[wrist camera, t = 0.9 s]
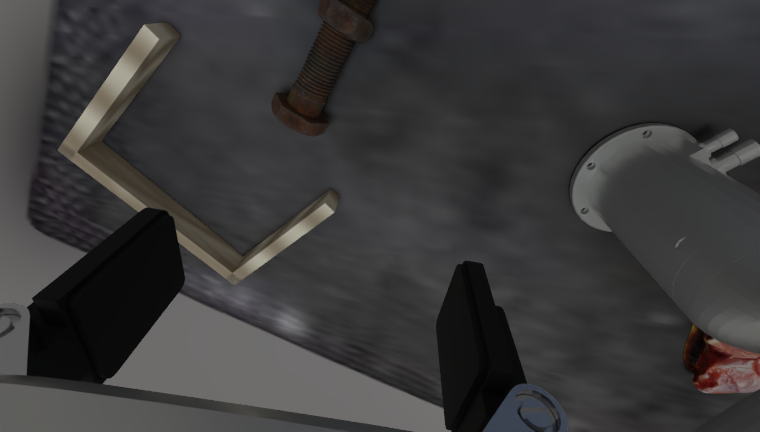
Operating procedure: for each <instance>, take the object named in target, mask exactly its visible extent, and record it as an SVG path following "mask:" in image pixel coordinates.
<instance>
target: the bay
mask: <svg viewBox="0 0 760 432" xmlns="http://www.w3.org/2000/svg"><path fill="white" fill-rule="evenodd" d="M180 37H181V35H180V34H179V33H178V32H177V31H176V30H175V29H174V28H173V27H172V26H171V25H170V24H169V23H168V22H166V23H155V24H144V26H143V27H142V28H141V30H140V31H139V33H138V34H137V36H136V37H135V39H134V40H133V41H132V43H131V44H130V46H129V47H128V49H127V50H126V52H125V53H124V54H123V56H122V57H121V59H120V60H119V62H118V63H117V65H116V66H115V68H114V69H113V70H112V72H111V73H110V75H109V76H108V78H107V79H106V81H105V82H104V83H103V85H102V86H101V88H100V89H99V91H98V92H97V94H96V95H95V96H94V98H93V99H92V101H91V102H90V104H89V105H88V107H87V108H86V109H85V111H84V112H83V114H82V115H81V117H80V118H79V120H78V121H77V123H76V124H75V125H74V127H73V128H72V130H71V131H70V133H69V134H68V136H67V137H66V138H65V140H64V141H63V143H62V144H61V146H60V147H59V149H58V151H59V152H60V153H62V154H63V155H64V156H66V157H67V158H68V159H70V160H71V161H72V162H74V163H75V164H76V165H77V166H79V167H80V168H81V169H83V170H84V171H85V172H87V173H88V174H89V175H91V176H92V177H93V178H95V179H96V180H97V181H98V182H100V183H101V184H102V185H104V186H105V187H106V188H108V189H109V190H110V191H112V192H113V193H114V194H116V195H117V196H118V197H120V198H121V199H122V200H123V201H125V202H126V203H127V204H129V205H130V206H131V207H133V208H134V209H135V210H137V211H138V212H140V211H141V210H143V209H144V208H147V207H149V208H155V209H161V210H166V211H168V213H169V215H170V216H172V217H173V218H174V222H175V227H176V232H177V238H178V242H179V243H180V244H181V245H183V246H184V247H185V248H186V249H188V250H189V251H190V252H192V253H193V254H194V255H196V256H197V257H198V258H200V259H201V260H202V261H204V262H205V263H206V264H207V265H209V266H210V267H211V268H213V269H214V270H215V271H217V272H218V273H219V274H221V275H222V276H223V277H225V278H226V279H227V280H228V281H230V282H231V283H232V284H234V285H236V284H237V283H238V282H240V281H241V280H243V279H244V278H245V277H247V276H248V275H249V274H251V273H252V272H253V271H255V270H256V269H258V268H259V267H260V266H262V265H263V264H264V263H266V262H267V261H269V260H270V259H271V258H273V257H274V256H275V255H277V254H278V253H280V252H281V251H282V250H284V249H285V248H286V247H288V246H289V245H290V244H292V243H293V242H295V241H296V240H297V239H299V238H300V237H301V236H303V235H304V234H306V233H307V232H308V231H310V230H311V229H312V228H314V227H315V226H317V225H318V224H319V223H321V222H322V221H323V220H325V219H326V218H327V217H329V216H330V215H332V214H333V213H334V212H335V209H336V207H337V204H338V201H339V198H340V197H339V196H338V195H337V194H336V193H335V192H334V191H333V190H332V189H330V190H329V191H327V192H326V193H325V194H324V195H322V196H321V197H320V198H318V199H317V200H316V201H314V202H313V203H312V204H311V205H309V206H308V207H307V208H305V209H304V210H303V211H301V212H300V213H299V214H298V215H296V216H295V217H294V218H292V219H291V220H290V221H288V222H287V223H286V224H285V225H283V226H282V227H281V228H279V229H278V230H277V231H276V232H274V233H273V234H272V235H270V236H269V237H268V238H266V239H265V240H264V241H263V242H261V243H260V244H259V245H257V246H256V247H255V248H253V249H252V250H251V251H250V252H248V253H247V254H246V255H244V256H243V255H241V254H240V253H239V252H238V251H236V250H235V249H234V248H233V247H231V246H230V245H229V244H228V243H227V242H225V241H224V240H223V239H222V238H220V237H219V236H218V235H217V234H215V233H214V232H213V231H212V230H210V229H209V228H208V227H207V226H206V225H204V224H203V223H202V222H201V221H199V220H198V219H197V218H196V217H194V216H193V215H192V214H191V213H189V212H188V211H187V210H186V209H184V208H183V207H182V206H181V205H180V204H178V203H177V202H176V201H175V200H173V199H172V198H171V197H170V196H168V195H167V194H166V193H165V192H163V191H162V190H161V189H160V188H159V187H157V186H156V185H155V184H154V183H152V182H151V181H150V180H149V179H147V178H146V177H145V176H144V175H142V174H141V173H140V172H139V171H138V170H136V169H135V168H134V167H133V166H131V165H130V164H129V163H128V162H126V161H125V160H124V159H123V158H121V157H120V156H119V155H118V154H117V153H115V152H114V151H113V150H112V149H110V148H109V147H108V146H107V145H105V144H104V143H103V142H102V140H103V138H104V137H105V136H106V134H107V133H108V132H109V130H110V129H111V128H112V126H113V125H114V124H115V122H116V121H117V120H118V119H119V117H120V116H121V115H122V113H123V112H124V111H125V109H126V108H127V107H128V105H129V104H130V103H131V101H132V100H133V99H134V97H135V96H136V95H137V94H138V92H139V91H140V90H141V88H142V87H143V86H144V84H145V83H146V82H147V80H148V79H149V78H150V76H151V75H152V74H153V72H154V71H155V70H156V69H157V67H158V66H159V65H160V63H161V62H162V61H163V59H164V58H165V57H166V55H167V54H168V53H169V51H170V50H171V49H172V47H173V46H174V45H175V44H176V42H177V41H178V40H179V38H180Z"/></svg>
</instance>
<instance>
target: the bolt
mask: <svg viewBox="0 0 760 432" xmlns="http://www.w3.org/2000/svg"><path fill="white" fill-rule="evenodd" d="M374 3H375V1H374V0H321V1H320V3H319V6H318V14H319V16H320V17H321V18H322V19H323V20H324V21H323V23H324V25H321V26H322V28H321V29H320V31H321V32H318V34H319V36H316V37H317V39H316V40H315V42H316V43H313V45H314V46H313V47H311V48H312V50H310V53H309V54H308V55H309V57H307V59H308V60H306V61H305V62H306V64H304V67H303V68H302V69H303V70H301V71H300V72H301V74H299V77H298V78H297V79H298V80H296V83H295V84H294V85H293V87H292V89H291V91H290V93H289V94H284V93H277V92H276V93H275V95H274V98H273V100H272V102H271V103H272V112H273V114H274V116H275V117H276V118H277V119H278V120H279V121H280V122H282V123H283V124H284V125H285V126H287V127H288V128H290V129H292V130H294V131H296V132H299V133H301V134H305V135H308V136H319V135H321V134H324V132H325V131H326V129H327V127H328V125H329V123H328V122H327V120H326V118H325V116H324V115H323V113H322V109H323V107H324V105H325V103H326V98H327V97H328V95H329V93H330V91H331V88H333V85H334V82H335V81H336V79H337V78H338V77H337V76H338V75H339V72H341V70H340V69H342V66H343V65H344V62H346V60H345V59H347V55H349V52H350V51H351V49H350V48H353V47H352V45H353V44H354V41H357V42H359V43H363V42H367V41H368V39H369V37H370V35H371V33H372V32H373V30H374V29H373V25H372V22H371V21H370V20H369V19H368V18H367V15H369V12H368V11H371V7H373V5H372V4H374Z"/></svg>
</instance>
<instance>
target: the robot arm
mask: <svg viewBox="0 0 760 432" xmlns="http://www.w3.org/2000/svg"><path fill="white" fill-rule="evenodd" d="M738 139H739V138H738V135H737V134H736V133H735V132H734V131H733V130H732V129H729V128H727V129H725V130H724V131H722V132H720V133H718V134H716V135H714V136H713V137H712V138H710V139H708V140H706V141H705V142H703V143H701V142H697V141H696V139H695V138H694V137H692V136H691V135H690V134H689V133H687V132H686V131H684V130H682V129H679V128H677V127H675V126H671V125H668V124H662V123H646V124H639V125H635V126H631V127H627V128H625V129H622V130H620V131H617V132H615V133H613V134H611V135H610V136H608V137H606V138H605V139H603V140H602V141H600V142H599V143H598V144H597V145H595V146H594V147H593V148H592V149H591V150H590V151H589V152H588V153H587V154H586V155H585V156H584V157H583V158H582V160H581V161H580V163H579V164H578V166H577V167H576V169H575V172H574V174H573V176H572V179H571V183H570V200H571V204H572V206H573V208H574V210H575V212H576V213H577V214H578V216H579V217H580V218H581V219H582V220H583V221H584V222H585V223H587V224H588V225H590V226H592V227H594V228H596V229H599V230H602V231H607V232H613V233H614V234H615V235H616V236H617V237H618V239H619V240H620V241H621V242H622V243H623V244H624V245H625V247H626V248H627V249H628V250H629V251H630V252H631V253H632V255H633V256H634V257H635V258H636V259H637V260H638V261H639V263H640V264H641V265H642V266H643V267H644V268H645V269H646V271H647V272H648V273H649V274H650V275H651V276H652V277H653V279H654V280H655V281H656V282H657V283H658V284H659V285H660V287H661V288H662V289H663V290H664V291H665V292H666V293H667V294H668V296H669V297H670V298H671V299H672V300H673V301H674V302H675V304H676V305H677V306H678V307H679V308H680V310H681V311H682V312H683V313H684V314H685V315H686V316H687V317H688V318H689V320H690V321H691V322H692V323H694V324H695V325H696V326H697V327H698V328H699V329H701V330H702V331H703V332H704V333H706V334H708V335H709V336H711V337H713V338H714V339H716V340H718V341H720V342H722V343H725V344H727V345H730V346H732V347H735V348H738V349H741V350H745V351H748V352H752V353H756V354H760V193H758V192H757V191H755V190H753V189H751V188H749V187H747V186H746V185H744V184H742V183H740V182H738V181H737V180H735V179H733V178H731V177H729V176H728V175H726V172H727V171H729V170H731V169H733V168H735V167H737V166H742V165H744V164H746V163H748V162H750V161H752V160H754V159H756V158H758V157H760V145H759V144H758V143H757V142H756V141H754V140H752V139H746V140H745V141H743V142H741V143H739V144H737V145H735V146H733V147H731V148H729V149H727V150H725V152H723V153H721V154H719V155H717V156H715V157H711V153H712V152H714V151H716V150H718V149H720V148H724V147H726V146H727V145H729V144H731V143H733V142H735V141H737V140H738ZM184 281H185V276H184V270H183V265H182V259H181V254H180V249H179V243H178V238H177V232H176V227H175V222H174V218H173V217H172V216H170V215H169V213H168V211H166V210H161V209H155V208H149V207H147V208H144V209H143V210H141V211H140V212H139V213H138V214H136V215H135V216H134V217H133V218H131V219H130V220H129V221H128V222H126V223H125V224H124V225H123V226H121V227H120V228H119V229H118V230H116V231H115V232H114V233H113V234H111V235H110V236H109V237H108V238H106V239H105V240H104V241H103V242H101V243H100V244H99V245H98V246H96V247H95V248H94V249H93V250H91V251H90V252H89V253H88V254H86V255H85V256H84V257H83V258H81V259H80V260H79V261H78V262H77V263H75V264H74V265H73V266H72V267H70V268H69V269H68V270H67V271H65V272H64V273H63V274H62V275H60V276H59V277H58V278H57V279H55V280H54V281H53V282H52V283H50V284H49V285H48V286H47V287H45V288H44V289H43V290H42V291H40V292H39V293H38V294H37V295H36V296H34V297H33V298H32V299H33V301H34V302H33V303H32V304H31V305H29V306H28V307H27V308H26V307H25V306H23V305H19V304H15V303H8V304H7V303H6V304H5V303H4V304H0V432H412V431H406V430H400V429H394V428H389V427H383V426H376V425H371V424H364V423H357V422H351V421H345V420H338V419H332V418H326V417H319V416H313V415H306V414H299V413H293V412H287V411H280V410H273V409H267V408H260V407H253V406H247V405H240V404H234V403H227V402H220V401H214V400H207V399H200V398H194V397H187V396H180V395H173V394H165V393H159V392H152V391H145V390H138V389H132V388H125V387H118V386H111V385H104V384H103V383H104V381H105V380H106V379H107V378H111V377H113V376H114V375H115V374H116V373H117V371H118V370H119V369H120V368H121V366H122V365H123V363H124V362H125V361H126V360H127V359H128V357H129V356H130V355H131V353H132V352H133V351H134V349H135V348H136V347H137V346H138V344H139V343H140V342H141V340H142V339H143V338H144V336H145V335H146V334H147V333H148V331H149V330H150V329H151V327H152V326H153V325H154V323H155V322H156V321H157V320H158V318H159V317H160V316H161V314H162V313H163V312H164V311H165V309H166V308H167V307H168V305H169V304H170V303H171V301H172V300H173V299H174V298H175V296H176V295H177V294H178V292H179V291H180V290H181V288H182V287H183V285H184ZM436 332H437V342H438V353H439V364H440V374H441V385H442V396H443V406H444V417H445V425H446V429H447V430H451V431H452V432H567V428H568V424H567V418H566V416H565V413H564V411H563V409H562V407H561V406H560V405H559V403H558V402H557V401H556V400H555V399H554V398H553V397H552V396H551V395H550V394H549V393H548V392H546V391H545V390H543V389H541V388H540V387H537V386H534V385H532V384H527V382H526V379H525V375H524V372H523V369H522V366H521V363H520V360H519V356H518V353H517V350H516V347H515V344H514V341H513V338H512V334H511V331H510V328H509V325H508V322H507V319H506V315H505V312H504V310H503V309H502V308H501V307H499V306H495V303H494V300H493V297H492V293H491V290H490V286H489V283H488V279H487V276H486V273H485V269H484V266H483V264H482V263H477V262H471V261H464V262H463V264H458V265H457V267H456V269H455V272H454V275H453V277H452V280H451V283H450V285H449V288H448V291H447V294H446V296H445V299H444V302H443V305H442V307H441V310H440V313H439V315H438V318H437V323H436ZM693 432H760V389H759V390H757V391H756V392H754V393H752V394H751V395H749V396H747V397H746V398H744V399H743V400H741V401H739V402H738V403H736V404H734V405H733V406H731V407H730V408H728V409H726V410H725V411H723V412H721V413H720V414H718V415H717V416H715V417H713V418H712V419H710V420H708V422H706V423H705V424H703V425H701V426H700V427H698V428H697V429H696V430H694V431H693Z"/></svg>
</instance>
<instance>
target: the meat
mask: <svg viewBox="0 0 760 432" xmlns="http://www.w3.org/2000/svg"><path fill="white" fill-rule="evenodd" d="M694 325H695V324H694V323H693V326H692V330H691V332H690V334H689V337H688V339H687V342H686V344H685V349H684V352H683V360H684V362H685V365H686V367H687V369H688V370H691V371H692V372H694V378H693V380H692V381H693V383H694V385H695V386H696V388H697V389H698V390H700V391H702V392H705V393H715V394H723V393H737V392H739V393H749V392H756V391H757V390H759V389H760V354H756V353H752V352H748V351H745V350H741V349H738V348H735V347H732V346H730V345H727V344H725V343H722V342H720V341H718V340H716V339H714V338H713V337H711V336H709V335H708V334H706V333H704V332H703V331H702V330H701V329H699V328H698V327H695V328H694Z"/></svg>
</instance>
